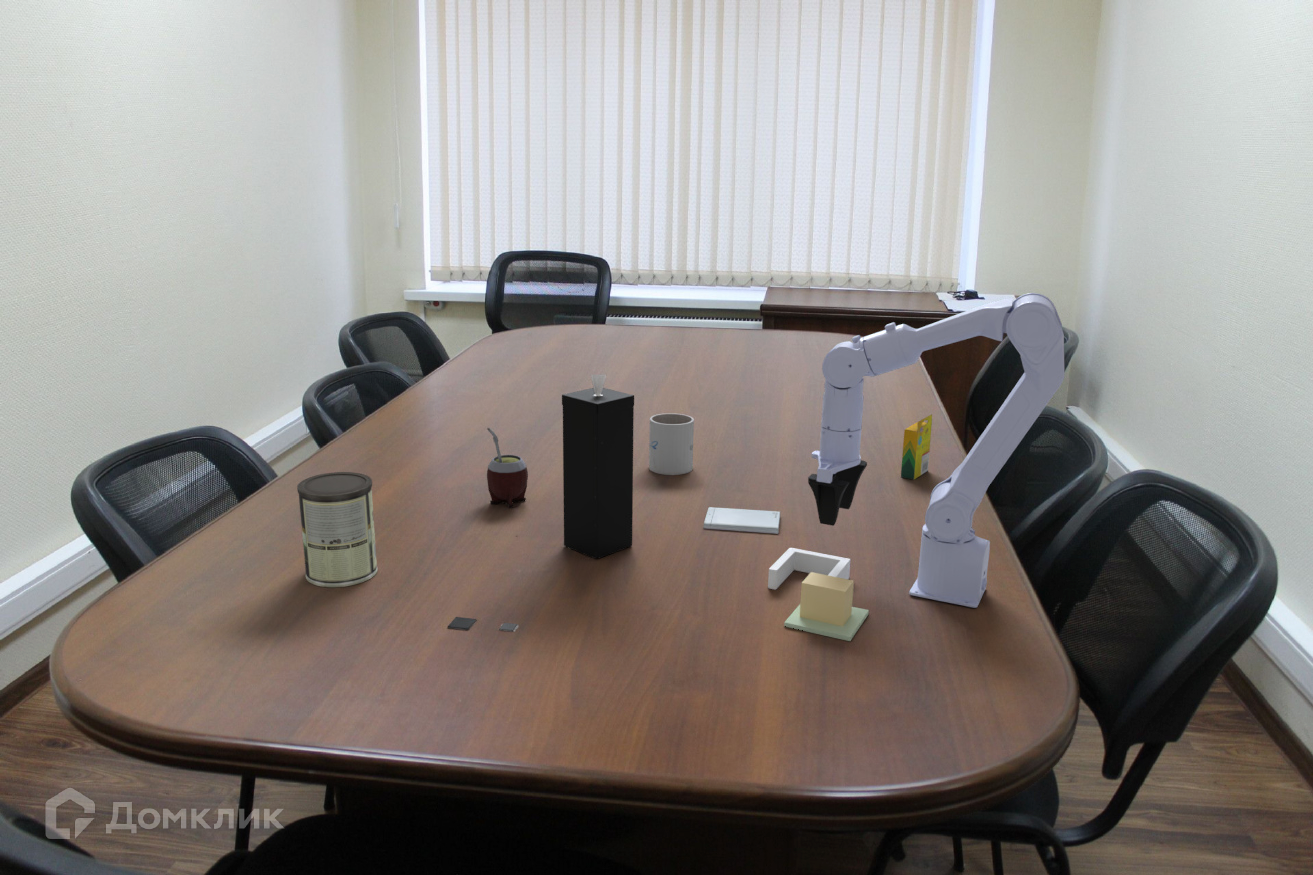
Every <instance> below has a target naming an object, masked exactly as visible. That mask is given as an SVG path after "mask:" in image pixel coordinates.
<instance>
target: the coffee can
mask: <svg viewBox="0 0 1313 875" xmlns="http://www.w3.org/2000/svg"><path fill="white" fill-rule="evenodd" d="M296 488H297V494H298V501H299V513H300V515H299V516H300V523H301V533H302V534H301V536H302V543H303V544H302V545H303V557H304V566H305V579H306V581H307V582H308V583H310V584H311V585H314V586H317V587H321V588H344V587H345V588H346V587H350V586H355V585H358V584H362V583H365V582H367V581H369V580H370V579H372V578H373V577H374V576H376V575H377V573H378V569H379V568H378V566H377V564H378V562H377V550H376V549H377V548H376V547H377V546H376V535H375V522H374V521H375V520H374V507H373V506H374V505H373V492H372V491H373V489H372V488H373V479H372V478H371V477H370V476H368V474H367V475H366V474H363V473H359V472H353V471H352V472H351V471H337V472H336V471H335V472H326V473H325V472H324V473H322V474H316V475H313V476H310V477H308V478H305V479H303V480H301V481H300V482H299V483H298V484H297V486H296Z"/></svg>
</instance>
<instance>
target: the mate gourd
mask: <svg viewBox="0 0 1313 875" xmlns="http://www.w3.org/2000/svg"><path fill="white" fill-rule="evenodd" d="M486 430H487V431H488V432H489V433H490V434H491V436H492V440H493V443H494V445H495V449H496V455H497V456H494V457H493V458H492V459H491V460H490V462H489V464H488V466H487V471H486V481H487V488H488V492H489V495H490V498H491V500H490V501H489V502H490V505H500V504H499V503H501V504H505V505H507V507H508V508H509V509H512V508H514V503H519V502H518V501H523V502H526V501H525V500H526V499H527V498H526V497H525V496H526V492H527V487H528V480H529V479H528V477H529V473H528V468H527V464H526V462H525V461H524V459H523V458H522V457H521V456H519V455H515V454H501V450H500V446H499V445H500V444H499V437H498V435H497V434H496V433H495V432H494V431H493V430H492V429H491V428H489V427H487V428H486ZM512 502H513V503H512Z"/></svg>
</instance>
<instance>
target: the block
mask: <svg viewBox="0 0 1313 875" xmlns="http://www.w3.org/2000/svg"><path fill="white" fill-rule="evenodd" d="M854 584H855V580H852V579H843V578H838V577H833V576H828V575H823V574H818V573H814V572H811V573H808V575H807V576H806V577H805V579H804V580H803V581H802V582H801V585H800V586H801V588H800V600H799V601H800V603H799V604H800V617H803V618H807V619H812V620H816V621H820V622H825V623H829V624H834V625H838V626H844V624H845V623H846V621H847V620H848V619H849V617H850V616H851V613H852V607H853V601H854V600H853V598H854Z"/></svg>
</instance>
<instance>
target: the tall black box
mask: <svg viewBox="0 0 1313 875" xmlns="http://www.w3.org/2000/svg"><path fill="white" fill-rule="evenodd" d="M590 377H591V378H590V379H591V383H592V385H593V387H591V388H587V389H583V390H582V389H581V390H578V391H577V390H576V391H572V392H569V393H564V394H561V405H562V471H563V472H562V475H563V477H562V478H563V480H562V481H563V482H562V483H563V487H562V488H563V489H562V490H563V546H564V547H566V548H568V549H571V550H573V551H576V552H578V553H581V554H582V555H586V556H588V557H591V558H592V559H601V558H604V557H606V556H609V555H612V554H614V553H617V552H619V551H623V550H624V549H627V548H629V547H632V546H633V510H634V509H633V506H634V505H633V503H634V502H633V500H634V495H633V494H634V418H635V416H634V411H635V410H634V407H635V395H634V394H631V393H627V392H623V391H620V390H619V391H618V390H614V389H610V388H606V387H604V386H605V382H606V379H607V374H591V375H590Z"/></svg>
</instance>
